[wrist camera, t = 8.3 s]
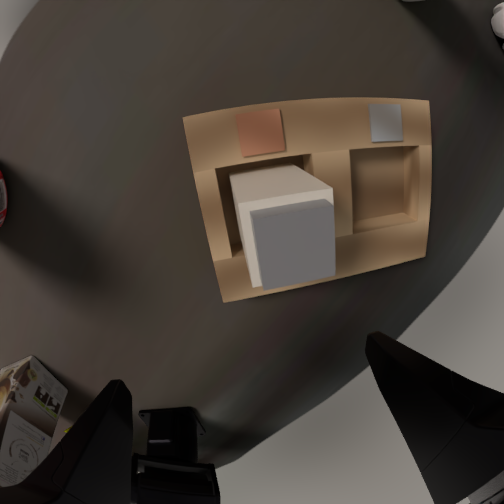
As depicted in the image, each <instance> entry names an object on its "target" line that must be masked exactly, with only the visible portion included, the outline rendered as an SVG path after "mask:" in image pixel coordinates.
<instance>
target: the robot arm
mask: <svg viewBox="0 0 504 504" xmlns="http://www.w3.org/2000/svg"><path fill="white" fill-rule="evenodd" d="M365 353H366V356H367V359H368V362H369V364H370V367H371V369H372V372H373V374H374V377H375V380H376V382H377V384H378V387H379V389H380V391H381V393H382V395H383V397H384V399H385V401H386V403H387V405H388V407H389V408H390V411H391V413H392V415H393V417H394V419H395V421H396V422H397V425H398V426H399V428H400V431H401V433H402V434H403V437H404V439H405V441H406V443H407V445H408V447H409V449H410V451H411V453H412V455H413V457H414V459H415V461H416V464H417V466H418V468H419V470H420V472H421V475H422V477H423V479H424V481H425V483H426V485H427V488H428V490H429V492H430V495H431V497H432V499H433V501H434V504H456V503H458V502H460V501H461V500H463V499H464V498H466V497H468V498H469V500H470V502H471V503H469V504H504V393H501V392H499V391H496V390H494V389H491V388H488V387H486V386H483V385H481V384H478V383H476V382H474V381H471V380H469V379H467V378H465V377H463V376H461V375H459V374H457V373H456V372H454V371H451V370H450V369H448V368H446V367H444V366H442V365H441V364H439V363H437V362H435V361H433V360H431V359H429V358H428V357H426V356H424V355H422V354H420V353H418V352H416V351H414V350H412V349H411V348H409V347H407V346H405V345H403V344H402V343H400V342H398V341H396V340H394V339H392V338H391V337H389V336H387V335H385V334H383V333H381V332H379V331H375V332H372V333H369V334H368V335H367V341H366V347H365ZM138 415H139V416H140V418H141V419H142V420H143V421H144V423H145V424H146V425H147V426H148V427H149V430H148V440H147V451H146V456H145V455H139V454H138V453H134V455H133V456H132V440H133V419H132V395H131V393H130V391H129V390H128V388H127V387H126V385H125V384H124V382H123V381H122V380H120V379H118V380H111V381H110V382H109V383H108V384H107V385H106V387H105V388H104V389H103V390H102V391H101V392H100V394H99V395H98V396H97V397H96V398H95V400H94V401H93V402H92V403H91V404H90V405H89V407H88V408H87V409H86V410H85V411H84V413H83V414H82V415H81V416H80V417H79V419H78V420H77V421H76V422H75V423H74V425H73V426H72V427H71V428H70V429H69V431H68V432H67V433H66V434H65V436H64V437H63V438H62V439H61V442H59V443H58V444H57V445H56V446H55V448H54V449H53V450H52V451H51V452H50V454H49V455H48V456H47V457H46V458H45V459H44V460H43V461H42V462H41V463H40V464H39V465H38V466H37V467H36V468H35V469H34V470H33V471H32V472H31V473H30V474H29V475H28V476H27V477H26V478H25V479H24V480H23V481H22V482H20V483H18V484H16V485H12V486H6V487H0V504H220V491H219V486H218V482H217V477H216V472H215V467H214V464H211V463H209V464H202V463H198V451H197V437H198V436H205V435H206V431H205V430H204V428H203V427H202V425H201V423H200V422H199V420H198V418H197V417H196V415H195V413H194V412H193V410H192V409H191V408H189V407H184V408H173V409H159V410H141V411H139V414H138ZM138 472H140V473H138Z"/></svg>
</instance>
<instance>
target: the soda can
mask: <svg viewBox="0 0 504 504" xmlns="http://www.w3.org/2000/svg"><path fill="white" fill-rule="evenodd" d="M6 212H7V190H6V185H5V181H4V178H3V175H2V173H1V170H0V227H1V226H2V224H3V222H4V220H5V216H6Z"/></svg>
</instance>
